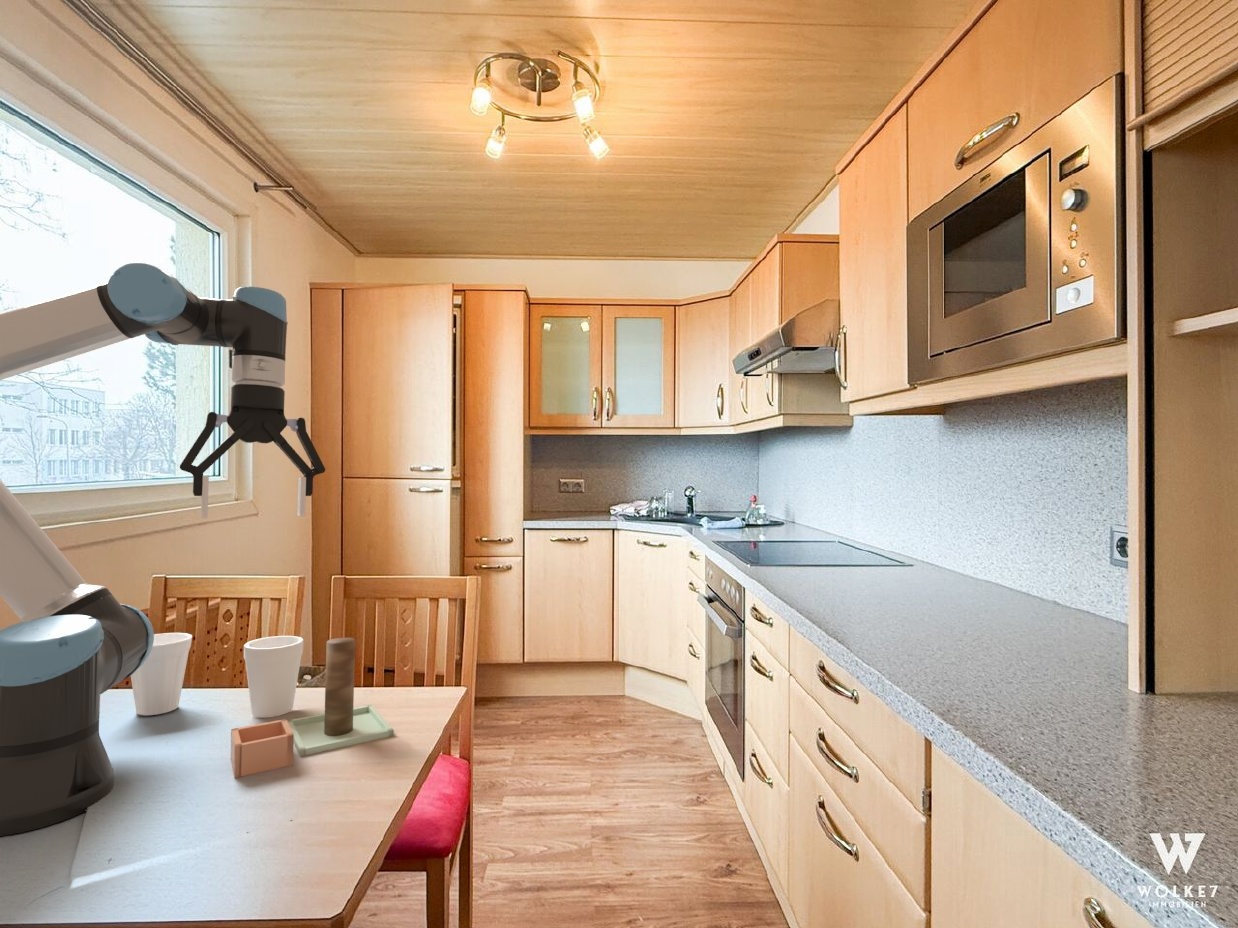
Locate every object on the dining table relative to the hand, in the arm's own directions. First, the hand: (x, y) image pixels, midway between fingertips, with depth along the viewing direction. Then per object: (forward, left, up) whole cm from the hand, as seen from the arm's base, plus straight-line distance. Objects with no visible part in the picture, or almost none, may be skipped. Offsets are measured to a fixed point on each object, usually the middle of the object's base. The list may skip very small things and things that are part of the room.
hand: (254, 517), depth 102 cm
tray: (+13, -3, -37) cm, 39 cm away
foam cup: (+5, +13, -37) cm, 39 cm away
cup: (-12, +26, -37) cm, 47 cm away
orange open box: (+1, -9, -37) cm, 38 cm away
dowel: (+13, -3, -36) cm, 38 cm away
